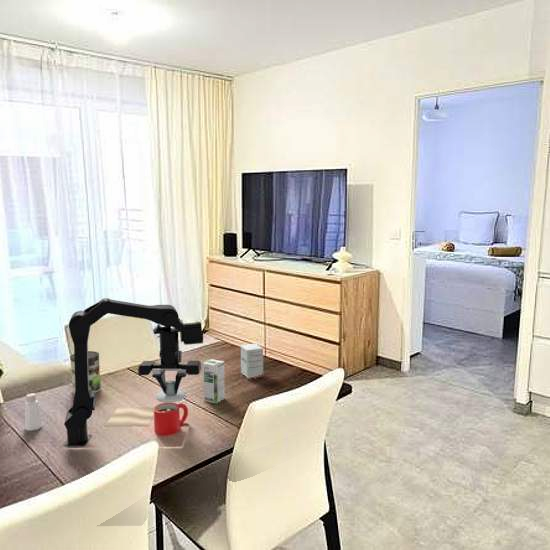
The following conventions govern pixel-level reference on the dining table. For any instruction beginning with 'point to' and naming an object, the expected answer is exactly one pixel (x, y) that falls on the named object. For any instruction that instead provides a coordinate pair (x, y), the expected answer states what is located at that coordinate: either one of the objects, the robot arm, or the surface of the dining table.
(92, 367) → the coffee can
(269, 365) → the dining table surface
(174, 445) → the dining table surface
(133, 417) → the mat
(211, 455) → the dining table surface
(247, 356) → the supplement box
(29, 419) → the pepper shaker
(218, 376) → the syrup box
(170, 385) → the lid
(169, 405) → the mug
